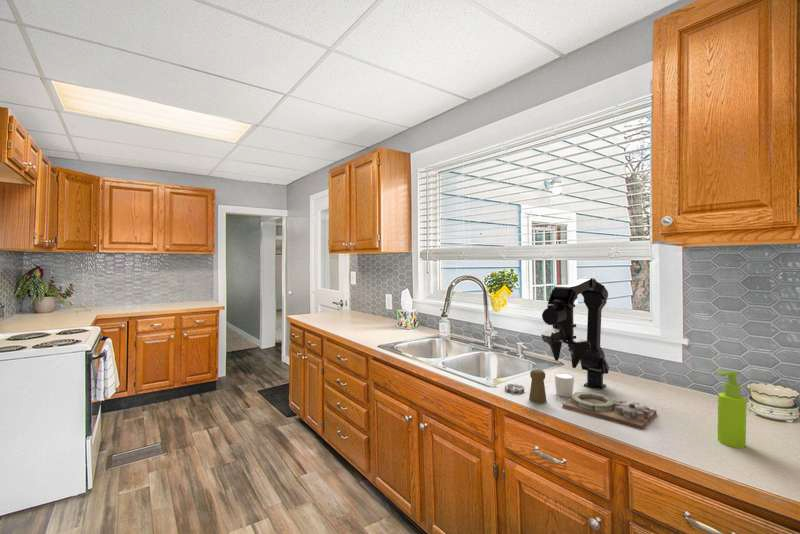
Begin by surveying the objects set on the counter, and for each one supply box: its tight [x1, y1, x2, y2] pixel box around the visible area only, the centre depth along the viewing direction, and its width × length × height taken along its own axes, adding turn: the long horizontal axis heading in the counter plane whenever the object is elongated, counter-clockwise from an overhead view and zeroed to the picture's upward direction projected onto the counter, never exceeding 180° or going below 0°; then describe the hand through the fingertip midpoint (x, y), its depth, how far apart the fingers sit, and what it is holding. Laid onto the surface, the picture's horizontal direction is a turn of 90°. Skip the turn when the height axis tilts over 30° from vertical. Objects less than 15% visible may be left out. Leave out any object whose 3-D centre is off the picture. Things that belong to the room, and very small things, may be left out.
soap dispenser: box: [716, 369, 747, 449], centre depth 105 cm, size 6×7×20 cm
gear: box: [504, 383, 525, 394], centre depth 147 cm, size 7×7×2 cm
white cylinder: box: [554, 372, 575, 398], centre depth 143 cm, size 7×7×7 cm
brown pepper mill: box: [528, 368, 548, 404], centre depth 137 cm, size 6×6×11 cm
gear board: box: [562, 391, 657, 431], centre depth 127 cm, size 16×24×4 cm, turn 43°
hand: (565, 364), depth 135 cm, fingers open, 9 cm apart
